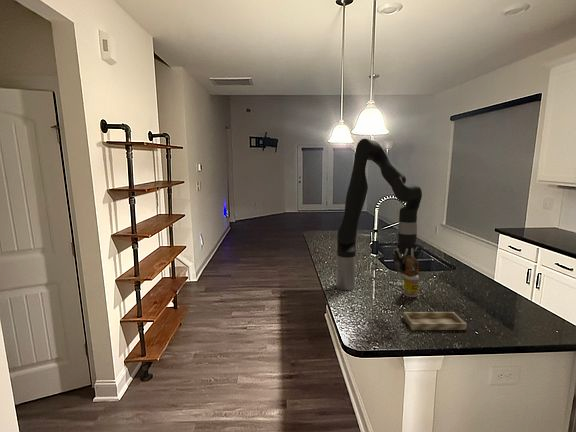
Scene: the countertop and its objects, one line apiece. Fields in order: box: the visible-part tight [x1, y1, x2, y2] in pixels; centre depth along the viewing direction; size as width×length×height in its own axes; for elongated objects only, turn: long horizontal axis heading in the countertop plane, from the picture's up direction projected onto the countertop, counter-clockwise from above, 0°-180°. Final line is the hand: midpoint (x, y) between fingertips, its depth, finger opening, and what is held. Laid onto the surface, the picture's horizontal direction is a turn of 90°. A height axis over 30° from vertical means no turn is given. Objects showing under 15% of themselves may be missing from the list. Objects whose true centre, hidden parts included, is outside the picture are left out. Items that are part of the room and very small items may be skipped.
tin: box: [392, 252, 420, 277], centre depth 140 cm, size 15×3×8 cm, turn 17°
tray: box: [402, 311, 468, 331], centre depth 130 cm, size 21×10×2 cm, turn 89°
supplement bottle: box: [402, 274, 420, 298], centre depth 157 cm, size 7×7×13 cm
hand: (405, 270), depth 141 cm, fingers closed on tin, 2 cm apart
